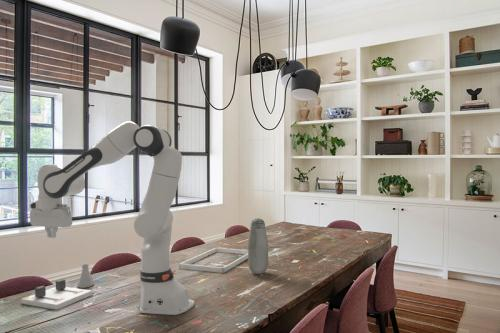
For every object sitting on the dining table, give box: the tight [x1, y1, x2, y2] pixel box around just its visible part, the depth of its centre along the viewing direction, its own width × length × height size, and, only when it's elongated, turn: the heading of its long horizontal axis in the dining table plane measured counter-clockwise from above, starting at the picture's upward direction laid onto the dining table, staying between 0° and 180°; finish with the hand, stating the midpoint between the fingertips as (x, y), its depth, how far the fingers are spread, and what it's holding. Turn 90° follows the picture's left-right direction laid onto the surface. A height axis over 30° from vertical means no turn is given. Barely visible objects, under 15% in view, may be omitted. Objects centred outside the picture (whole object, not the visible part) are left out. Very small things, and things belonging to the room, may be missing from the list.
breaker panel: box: [21, 286, 93, 311], centre depth 162 cm, size 20×18×2 cm
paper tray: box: [178, 247, 248, 274], centre depth 221 cm, size 27×42×2 cm, turn 157°
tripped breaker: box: [34, 285, 47, 298], centre depth 159 cm, size 2×3×4 cm
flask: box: [77, 263, 95, 289], centre depth 180 cm, size 7×7×10 cm
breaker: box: [55, 278, 67, 290], centre depth 168 cm, size 2×3×4 cm
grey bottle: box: [247, 217, 269, 275], centre depth 194 cm, size 10×10×28 cm
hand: (51, 237), depth 158 cm, fingers closed
